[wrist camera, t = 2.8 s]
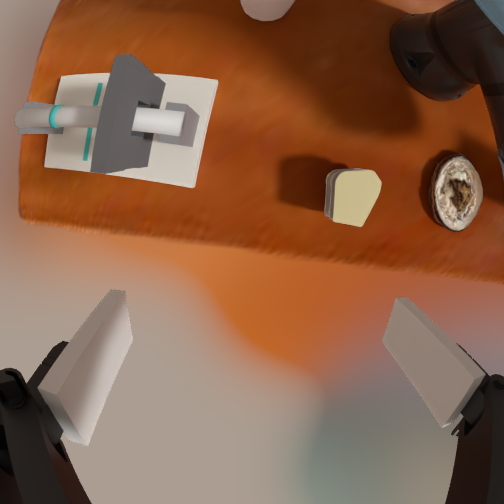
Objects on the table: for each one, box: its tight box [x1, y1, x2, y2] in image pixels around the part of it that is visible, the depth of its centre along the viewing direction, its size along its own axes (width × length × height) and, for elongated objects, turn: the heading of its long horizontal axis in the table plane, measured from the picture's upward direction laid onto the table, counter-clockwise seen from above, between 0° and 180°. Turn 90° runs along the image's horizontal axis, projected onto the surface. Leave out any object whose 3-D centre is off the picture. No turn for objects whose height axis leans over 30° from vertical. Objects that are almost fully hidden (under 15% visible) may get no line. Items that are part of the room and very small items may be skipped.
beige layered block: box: [324, 168, 382, 227], centre depth 33 cm, size 10×9×6 cm
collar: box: [90, 54, 166, 174], centre depth 22 cm, size 10×2×11 cm, turn 167°
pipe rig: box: [14, 73, 218, 188], centre depth 26 cm, size 14×24×11 cm, turn 77°
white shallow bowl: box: [428, 148, 483, 232], centre depth 34 cm, size 15×15×4 cm
